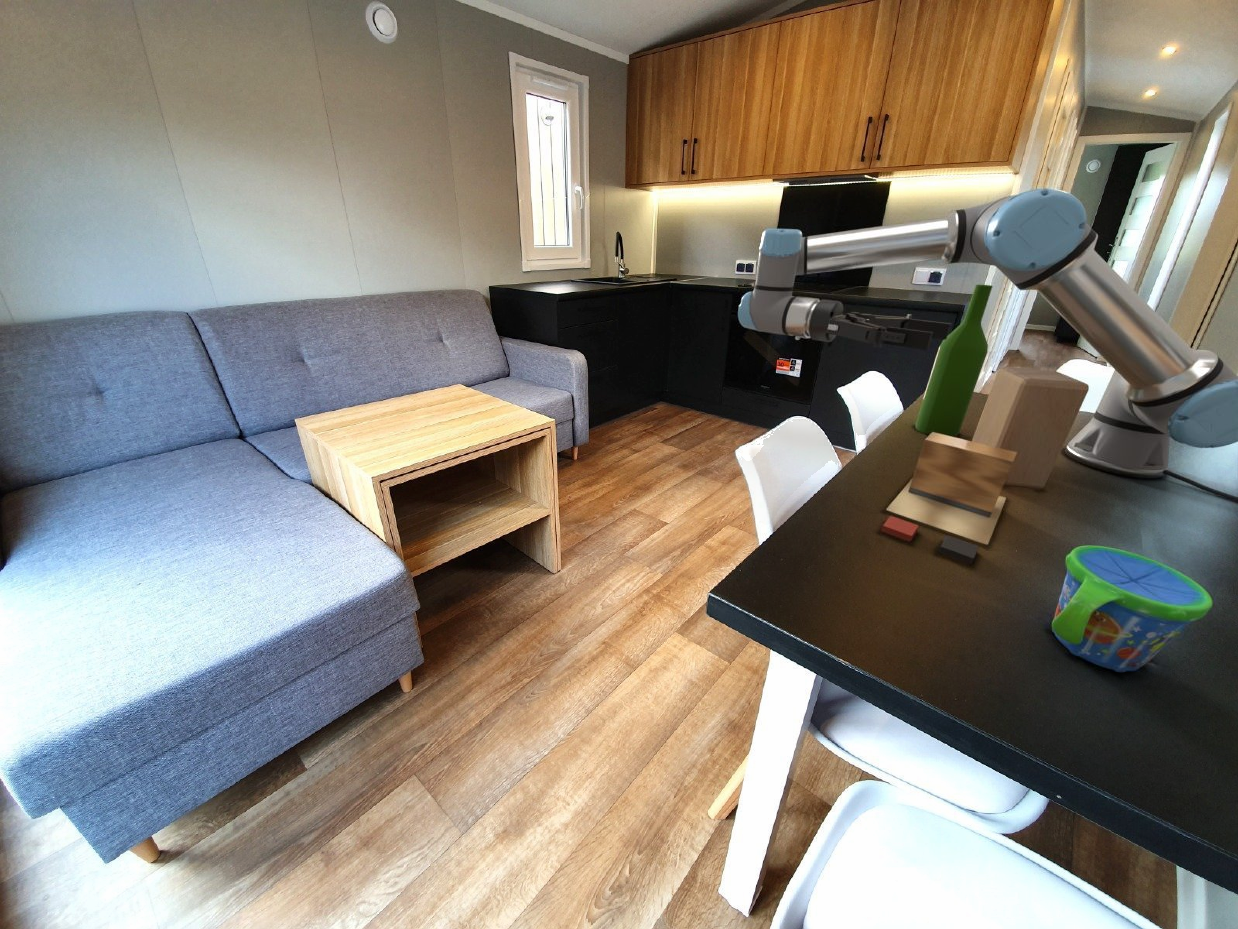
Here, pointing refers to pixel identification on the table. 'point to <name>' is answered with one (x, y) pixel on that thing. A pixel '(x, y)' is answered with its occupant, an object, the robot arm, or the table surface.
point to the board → (947, 515)
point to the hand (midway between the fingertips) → (939, 336)
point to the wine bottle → (956, 371)
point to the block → (1030, 420)
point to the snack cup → (1123, 607)
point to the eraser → (961, 473)
